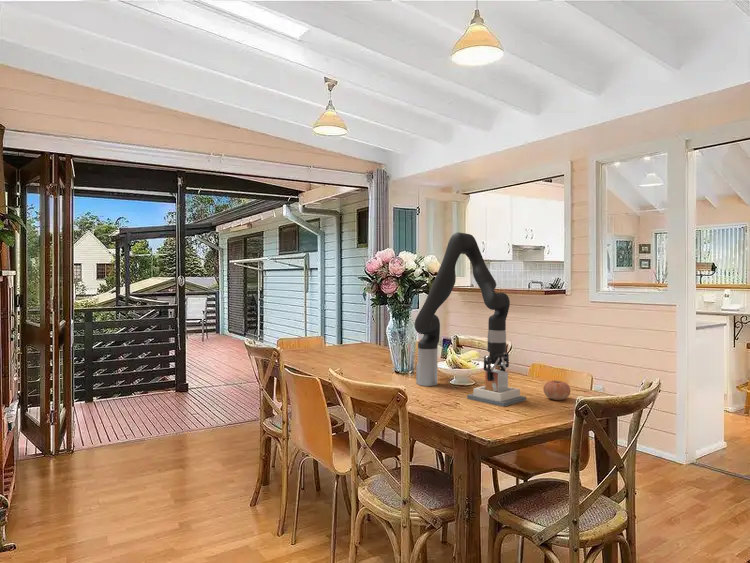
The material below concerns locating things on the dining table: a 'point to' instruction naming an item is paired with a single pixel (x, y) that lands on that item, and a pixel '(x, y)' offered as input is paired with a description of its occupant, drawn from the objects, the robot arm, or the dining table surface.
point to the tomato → (556, 390)
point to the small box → (497, 381)
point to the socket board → (496, 396)
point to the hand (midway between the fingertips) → (496, 379)
